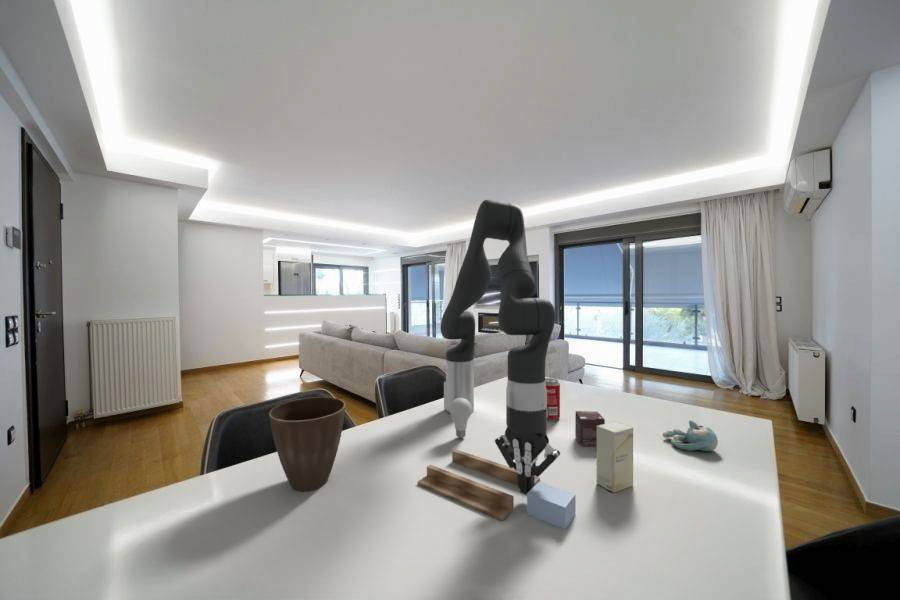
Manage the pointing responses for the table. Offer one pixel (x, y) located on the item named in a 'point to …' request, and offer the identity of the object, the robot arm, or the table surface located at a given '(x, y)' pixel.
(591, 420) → the box
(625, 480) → the skincare box
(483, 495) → the chute
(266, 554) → the table surface
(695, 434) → the stuffed animal
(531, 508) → the block
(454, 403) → the lightbulb
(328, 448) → the plant pot
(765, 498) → the table surface
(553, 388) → the beverage can
